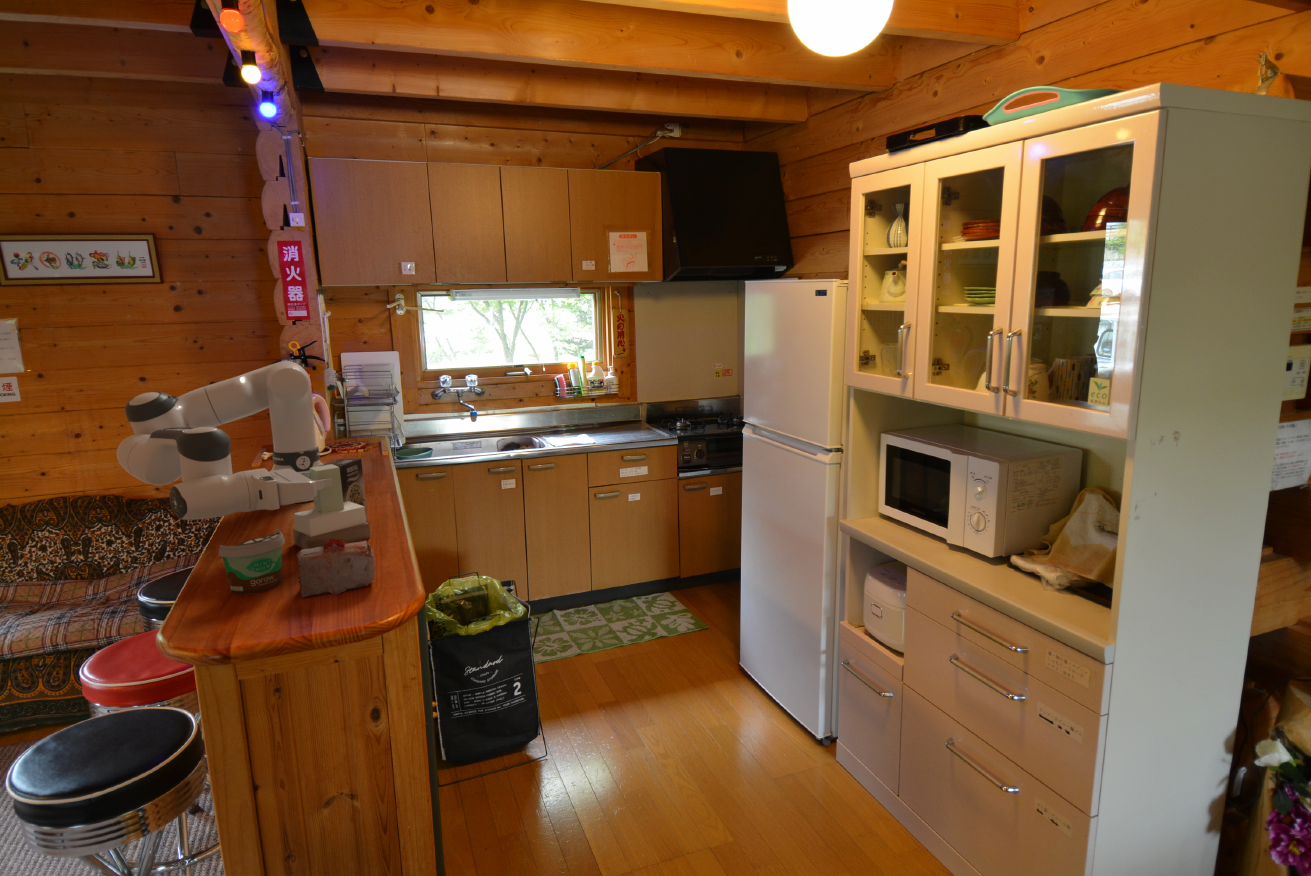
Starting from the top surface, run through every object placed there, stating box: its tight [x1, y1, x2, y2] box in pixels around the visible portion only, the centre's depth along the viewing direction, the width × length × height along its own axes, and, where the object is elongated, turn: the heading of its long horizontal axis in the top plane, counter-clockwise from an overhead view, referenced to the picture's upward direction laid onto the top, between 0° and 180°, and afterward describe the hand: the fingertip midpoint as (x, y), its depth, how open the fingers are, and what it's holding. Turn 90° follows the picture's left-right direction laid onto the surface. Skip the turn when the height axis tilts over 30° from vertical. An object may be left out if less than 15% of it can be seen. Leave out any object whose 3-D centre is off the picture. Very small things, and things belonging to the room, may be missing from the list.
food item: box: [295, 538, 376, 599], centre depth 144 cm, size 14×8×10 cm, turn 117°
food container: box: [218, 528, 286, 595], centre depth 145 cm, size 12×6×10 cm, turn 148°
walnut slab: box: [292, 521, 371, 550], centre depth 174 cm, size 9×14×4 cm, turn 134°
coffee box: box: [320, 458, 368, 521], centre depth 186 cm, size 9×6×16 cm
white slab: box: [293, 501, 367, 537], centre depth 174 cm, size 8×13×4 cm, turn 139°
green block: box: [310, 464, 344, 514], centre depth 173 cm, size 5×5×10 cm
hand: (324, 478), depth 173 cm, fingers open, 8 cm apart
